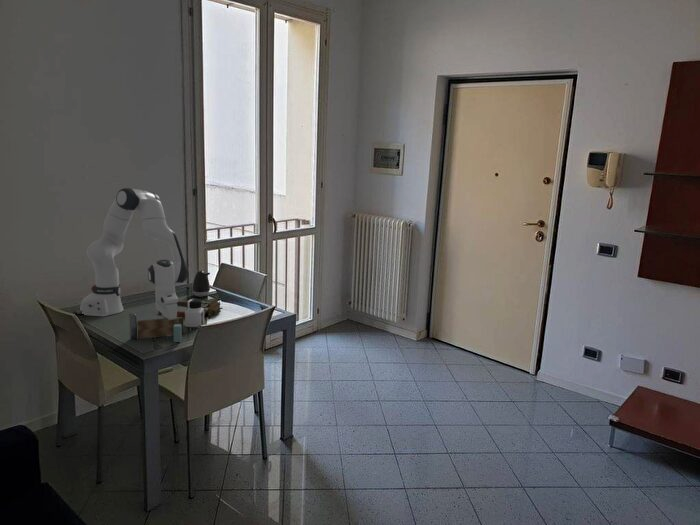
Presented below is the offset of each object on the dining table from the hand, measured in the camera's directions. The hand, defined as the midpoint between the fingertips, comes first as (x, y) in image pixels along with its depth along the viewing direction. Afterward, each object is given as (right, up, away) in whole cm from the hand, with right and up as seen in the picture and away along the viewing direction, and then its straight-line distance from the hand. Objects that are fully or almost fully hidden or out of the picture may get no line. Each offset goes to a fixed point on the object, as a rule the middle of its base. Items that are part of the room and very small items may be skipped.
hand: (166, 322), depth 246 cm
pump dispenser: (-1, +9, +63) cm, 64 cm away
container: (+9, -3, +16) cm, 18 cm away
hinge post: (-12, -7, -7) cm, 16 cm away
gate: (-1, -6, -2) cm, 6 cm away
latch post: (+8, -8, -7) cm, 13 cm away
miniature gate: (+3, +1, +34) cm, 34 cm away
